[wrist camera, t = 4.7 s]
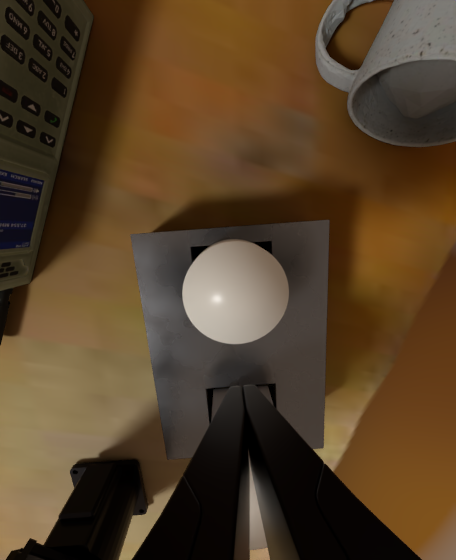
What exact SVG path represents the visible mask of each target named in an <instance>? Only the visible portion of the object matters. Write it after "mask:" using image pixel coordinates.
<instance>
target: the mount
mask: <svg viewBox="0 0 456 560" xmlns="http://www.w3.org/2000/svg"><path fill="white" fill-rule="evenodd" d="M130 235H131V241H132V247H133V253H134V259H135V265H136V272H137V278H138V284H139V290H140V296H141V302H142V308H143V314H144V320H145V326H146V332H147V339H148V345H149V351H150V357H151V363H152V369H153V375H154V381H155V387H156V393H157V399H158V406H159V412H160V418H161V424H162V430H163V436H164V442H165V448H166V454H167V460H169V459H182V458H192V457H193V455H194V453H195V451H196V449H197V447H198V445H199V444H200V442H201V440H202V438H203V436H204V434H205V432H206V430H207V429H208V427H209V425H210V423H211V420H212V406H209V397H208V388H219V387H231V386H244V385H260V384H273V388H274V402H273V406H274V407H275V408H276V409H277V410H278V411H279V412H280V413H281V415H282V416H283V417H284V418H285V419H286V420H287V421H288V422H289V423H290V425H291V426H292V427H293V428H294V429H295V430H296V431H297V432H298V434H299V435H300V436H301V437H302V438H303V439H304V440H305V441H306V442H307V444H308V445H309V446H310V447H311V448H312V449H319V448H323V447H324V409H325V371H326V333H327V295H328V256H329V220H316V221H300V222H287V223H273V224H260V225H246V226H233V227H219V228H206V229H192V230H179V231H165V232H152V233H141V234H130ZM227 239H241V240H246V241H249V242H263V241H269V253H270V254H271V255H273V257H274V258H275V259H276V260H277V261H278V262H279V263H280V265H281V266H282V268H283V270H284V272H285V275H286V277H287V281H288V286H289V299H288V304H287V307H286V310H285V313H284V315H283V317H282V318H281V320H280V321H279V323H278V324H277V325H276V326H275V327H274V328H273V329H272V330H271V331H270V332H269V333H267V334H266V335H265V336H263V337H261V338H259V339H257V340H254V341H252V342H248V343H243V344H227V343H222V342H218V341H215V340H213V339H211V338H209V337H207V336H206V335H204V334H203V333H201V332H200V331H199V330H198V329H197V328H196V327H195V326H194V325H193V324H192V322H191V321H190V319H189V317H188V315H187V313H186V311H185V308H184V304H183V297H182V290H183V283H184V279H185V276H186V274H187V271H188V270H189V268H190V266H191V265H192V263H193V262H194V256H193V247H195V246H209V245H212V244H214V243H217V242H219V241H222V240H227Z"/></svg>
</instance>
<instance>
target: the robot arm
mask: <svg viewBox="0 0 456 560" xmlns="http://www.w3.org/2000/svg"><path fill="white" fill-rule="evenodd" d="M248 451H249V452H248ZM249 460H250V465H249ZM250 466H251V472H252V477H253V481H254V486H255V491H256V495H257V500H258V505H259V509H260V514H261V519H262V523H263V528H264V533H265V537H266V542H267V547H268V551H269V556H270V560H422V559H421V558H420V557H418V556H417V555H416V554H415V553H414V552H413V551H412V550H411V549H410V548H409V547H408V546H407V545H406V544H405V543H404V542H403V541H401V540H400V539H399V538H398V537H397V536H396V535H395V534H394V533H393V532H392V531H391V530H390V529H389V528H388V527H387V526H386V525H384V524H383V523H382V522H381V521H380V520H379V519H378V518H377V517H376V516H375V515H374V514H373V513H372V512H371V511H370V510H369V509H368V508H367V507H366V506H365V505H364V504H363V503H362V502H361V501H360V500H359V499H358V498H357V497H356V496H355V495H354V494H353V493H352V492H351V491H350V490H349V489H348V488H347V487H346V486H345V485H344V483H342V481H341V480H340V479H339V478H338V477H337V476H336V475H335V474H334V473H333V471H332V470H331V469H330V468H329V467H328V466H327V465H326V464H324V462H323V460H322V459H321V458H320V457H319V456H318V455H317V454H316V453H315V451H314V450H313V449H312V448H311V447H310V446H309V445H308V444H307V442H306V441H305V440H304V439H303V438H302V437H301V436H300V435H299V434H298V432H297V431H296V430H295V429H294V428H293V427H292V426H291V425H290V423H289V422H288V421H287V420H286V419H285V418H284V417H283V416H282V415H281V413H280V412H279V411H278V410H277V409H276V408H275V407H274V406H273V404H272V403H271V402H270V401H269V400H268V399H267V398H266V397H265V396H264V394H263V393H262V392H261V391H260V390H259V389H258V388H257V387H256V386H255V385H244V386H243V389H242V386H231V387H229V389H228V391H227V393H226V395H225V397H224V398H223V400H222V402H221V404H220V406H219V408H218V410H217V412H216V413H215V415H214V417H213V419H212V421H211V423H210V425H209V427H208V429H207V430H206V432H205V434H204V436H203V438H202V440H201V442H200V444H199V445H198V447H197V449H196V451H195V453H194V455H193V457H192V459H191V460H190V462H189V464H188V466H187V468H186V470H185V472H184V474H183V476H182V477H181V479H180V481H179V483H178V485H177V487H176V488H175V490H174V492H173V494H172V496H171V497H170V499H169V501H168V503H167V504H166V506H165V508H164V510H163V512H162V513H161V515H160V517H159V518H158V520H157V521H156V523H155V524H154V526H153V528H152V529H151V531H150V532H149V534H148V536H147V537H146V539H145V540H144V542H143V543H142V545H141V546H140V548H139V549H138V551H137V552H136V554H135V555H134V557H133V558H132V560H250ZM70 474H71V478H72V481H73V485H74V490H73V492H72V493H71V495H70V497H69V499H68V500H67V502H66V504H65V506H64V507H63V509H62V511H61V513H60V514H59V519H58V520H57V522H56V524H55V526H54V527H53V529H52V531H51V533H50V535H49V536H48V538H47V540H46V542H45V543H44V545H41V544H39V543H36V540H34V539H31V538H30V539H29V541H28V542H27V544H26V545H25V547H24V549H23V548H21V549H18V550H14V551H11V552H10V554H9V556H8V557H7V559H6V560H119V557H120V554H121V551H122V547H123V544H124V541H125V538H126V535H127V532H128V528H129V525H130V522H131V519H132V516H133V515H144V514H146V512H147V509H148V504H147V499H146V494H145V489H144V484H143V479H142V474H141V469H140V464H139V462H138V461H137V460H124V461H111V462H97V463H83V464H75V465H73V467H72V469H71V470H70Z"/></svg>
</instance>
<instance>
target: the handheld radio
mask: <svg viewBox="0 0 456 560" xmlns="http://www.w3.org/2000/svg"><path fill="white" fill-rule="evenodd" d="M93 18H94V16H93V14H92V13H91V11H90V10H89V8H88V7H87V5H86V4H85V2H84V0H0V345H1V341H2V337H3V332H4V328H5V323H6V319H7V314H8V310H9V305H10V302H9V297H10V294H12V291H13V287H17V286H21V285H25V284H28V283H30V282H31V279H32V275H33V270H34V266H35V262H36V258H37V253H38V249H39V245H40V241H41V237H42V232H43V228H44V224H45V220H46V216H47V211H48V207H49V203H50V199H51V194H52V190H53V186H54V182H55V178H56V173H57V169H58V165H59V161H60V157H61V152H62V148H63V144H64V140H65V135H66V131H67V127H68V123H69V119H70V114H71V110H72V106H73V102H74V98H75V93H76V89H77V85H78V81H79V77H80V72H81V68H82V64H83V60H84V55H85V51H86V47H87V43H88V39H89V34H90V30H91V26H92V22H93Z"/></svg>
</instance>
